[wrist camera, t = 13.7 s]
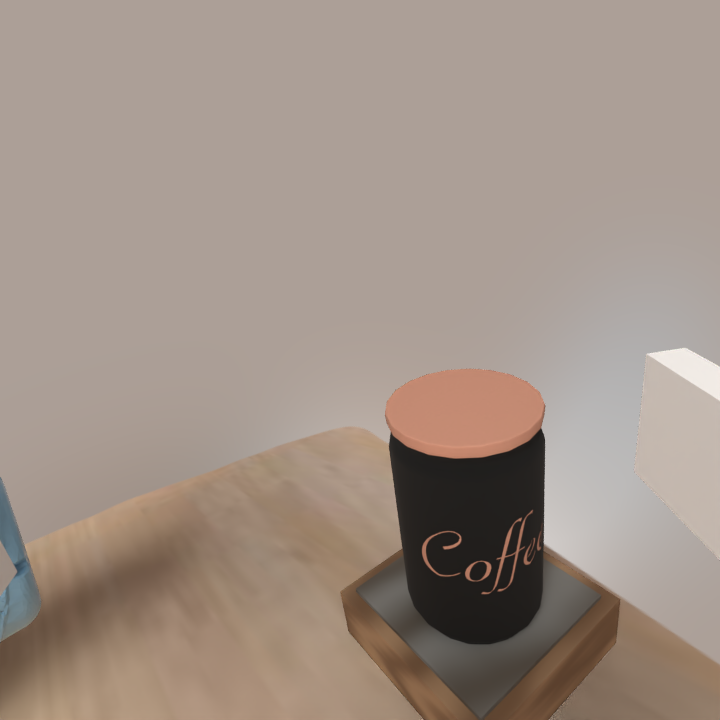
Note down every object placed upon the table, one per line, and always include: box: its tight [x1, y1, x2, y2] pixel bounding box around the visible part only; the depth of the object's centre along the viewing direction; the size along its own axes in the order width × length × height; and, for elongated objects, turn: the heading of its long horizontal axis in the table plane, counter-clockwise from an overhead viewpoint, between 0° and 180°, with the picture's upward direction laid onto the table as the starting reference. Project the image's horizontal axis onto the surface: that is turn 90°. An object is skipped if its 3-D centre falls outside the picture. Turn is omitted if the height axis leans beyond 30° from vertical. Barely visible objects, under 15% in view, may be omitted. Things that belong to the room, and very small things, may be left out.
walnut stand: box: [341, 548, 620, 720], centre depth 43 cm, size 16×16×5 cm
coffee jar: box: [385, 369, 545, 644], centre depth 38 cm, size 11×11×18 cm
